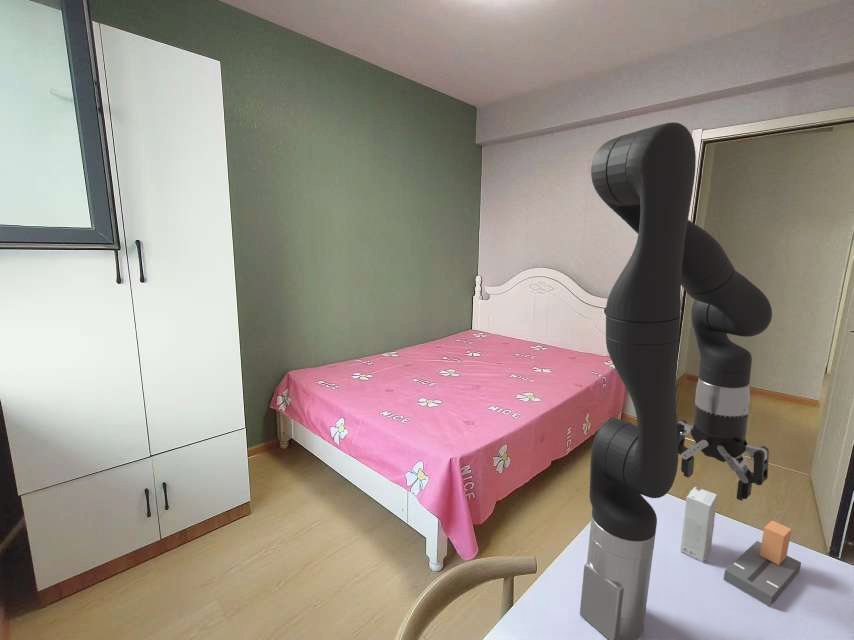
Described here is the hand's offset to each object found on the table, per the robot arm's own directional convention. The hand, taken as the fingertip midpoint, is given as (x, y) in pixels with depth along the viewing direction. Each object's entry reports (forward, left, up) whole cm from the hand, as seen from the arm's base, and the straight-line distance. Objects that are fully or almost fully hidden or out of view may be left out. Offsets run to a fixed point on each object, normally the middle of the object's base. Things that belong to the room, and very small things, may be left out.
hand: (713, 486), depth 74 cm
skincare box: (+6, +4, -18) cm, 20 cm away
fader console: (+10, -6, -18) cm, 21 cm away
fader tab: (+14, -6, -16) cm, 22 cm away
